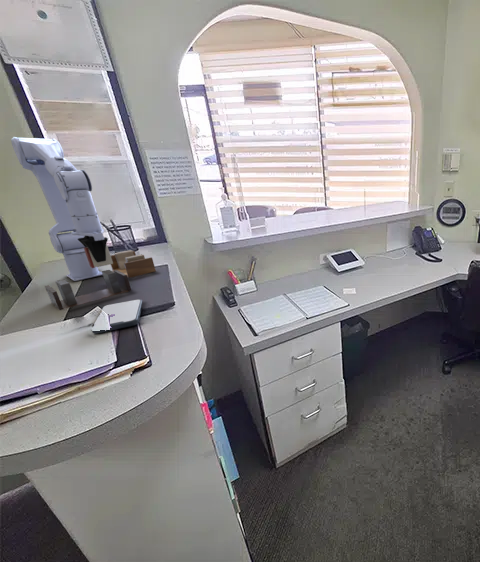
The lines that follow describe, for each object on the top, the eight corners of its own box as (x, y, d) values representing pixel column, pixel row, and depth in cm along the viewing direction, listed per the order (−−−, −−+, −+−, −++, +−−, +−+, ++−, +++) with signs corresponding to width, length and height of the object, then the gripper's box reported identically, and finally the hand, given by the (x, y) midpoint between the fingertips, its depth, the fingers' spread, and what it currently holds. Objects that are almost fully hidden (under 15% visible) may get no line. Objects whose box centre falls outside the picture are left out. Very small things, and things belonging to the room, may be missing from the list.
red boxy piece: (90, 267, 92) (83, 247, 90) (111, 262, 96) (105, 243, 94) (92, 268, 91) (85, 248, 89) (113, 263, 95) (107, 244, 93)
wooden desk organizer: (112, 271, 112) (106, 253, 110) (138, 266, 118) (133, 248, 116) (130, 280, 103) (123, 260, 101) (156, 273, 110) (151, 254, 107)
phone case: (104, 310, 82) (91, 336, 70) (102, 305, 82) (88, 329, 69) (144, 303, 87) (139, 325, 74) (142, 298, 86) (137, 319, 73)
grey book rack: (61, 313, 81) (50, 288, 78) (53, 306, 85) (43, 282, 82) (132, 293, 93) (125, 271, 90) (122, 287, 97) (115, 266, 95)
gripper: (58, 214, 89) (75, 259, 94) (73, 219, 81) (90, 268, 86) (90, 211, 94) (104, 254, 99) (106, 216, 86) (121, 262, 91)
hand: (100, 260), depth 93 cm, fingers closed on red boxy piece, 2 cm apart
